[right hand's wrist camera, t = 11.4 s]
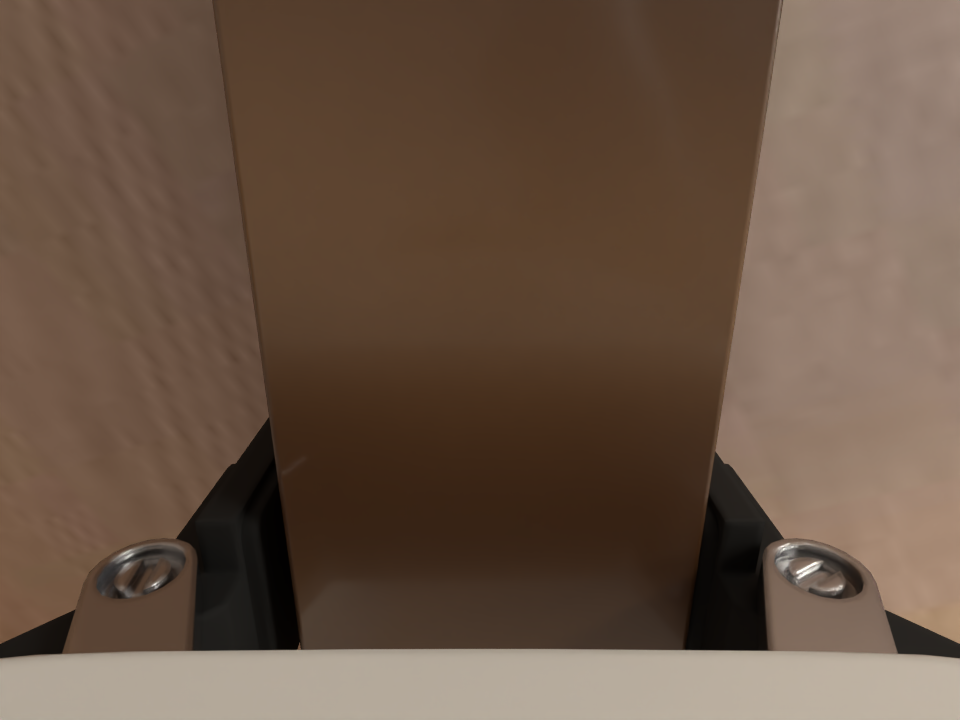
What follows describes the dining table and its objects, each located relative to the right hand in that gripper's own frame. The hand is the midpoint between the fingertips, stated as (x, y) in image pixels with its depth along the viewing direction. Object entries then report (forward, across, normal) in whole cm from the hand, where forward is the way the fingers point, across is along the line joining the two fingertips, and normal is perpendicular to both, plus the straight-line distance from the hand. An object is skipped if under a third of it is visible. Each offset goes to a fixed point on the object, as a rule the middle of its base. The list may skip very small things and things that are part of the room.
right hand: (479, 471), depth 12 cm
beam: (+5, 0, -30) cm, 31 cm away
